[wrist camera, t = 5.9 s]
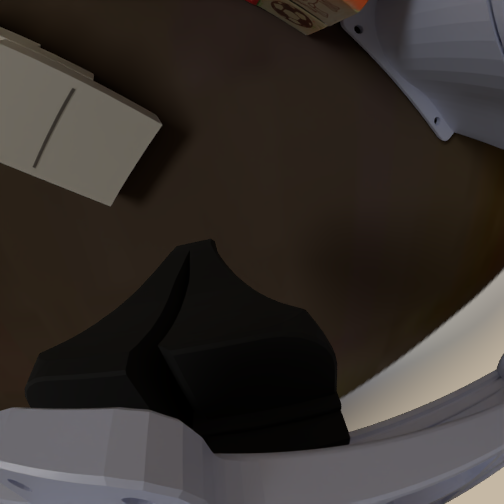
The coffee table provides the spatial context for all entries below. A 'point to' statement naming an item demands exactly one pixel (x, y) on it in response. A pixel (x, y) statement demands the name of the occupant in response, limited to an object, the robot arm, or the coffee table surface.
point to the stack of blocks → (311, 12)
